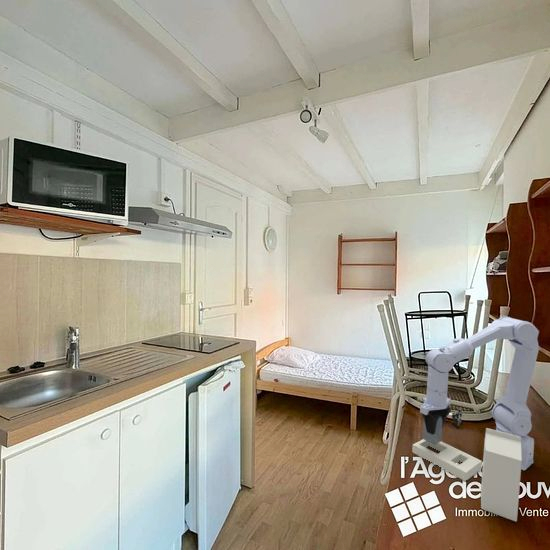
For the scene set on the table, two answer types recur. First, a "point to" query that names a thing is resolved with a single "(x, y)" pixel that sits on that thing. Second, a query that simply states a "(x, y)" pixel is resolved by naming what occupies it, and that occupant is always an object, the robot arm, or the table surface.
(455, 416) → the valve
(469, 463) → the socket plate
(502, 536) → the table surface
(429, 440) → the peg
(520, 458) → the milk carton
